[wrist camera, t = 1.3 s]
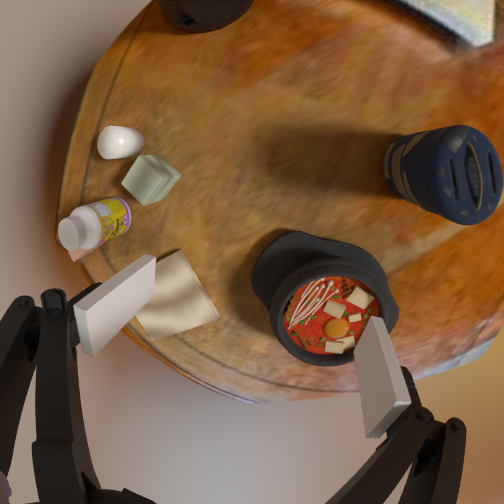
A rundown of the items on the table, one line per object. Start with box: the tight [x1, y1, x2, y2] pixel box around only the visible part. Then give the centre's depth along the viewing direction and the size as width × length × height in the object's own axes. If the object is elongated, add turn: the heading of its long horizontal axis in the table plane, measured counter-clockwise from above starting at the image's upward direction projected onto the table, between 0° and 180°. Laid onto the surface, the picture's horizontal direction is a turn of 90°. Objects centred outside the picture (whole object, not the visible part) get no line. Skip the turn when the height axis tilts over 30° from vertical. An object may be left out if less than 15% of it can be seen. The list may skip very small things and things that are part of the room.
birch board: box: [135, 249, 220, 341], centre depth 47 cm, size 13×16×1 cm
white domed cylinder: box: [97, 126, 144, 159], centre depth 37 cm, size 5×5×6 cm
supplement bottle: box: [58, 197, 132, 251], centre depth 38 cm, size 7×7×13 cm
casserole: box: [251, 231, 399, 366], centre depth 38 cm, size 25×19×8 cm
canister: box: [383, 125, 503, 225], centre depth 25 cm, size 10×10×18 cm
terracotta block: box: [68, 243, 103, 262], centre depth 44 cm, size 5×5×5 cm
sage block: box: [121, 155, 181, 206], centre depth 38 cm, size 5×5×6 cm
